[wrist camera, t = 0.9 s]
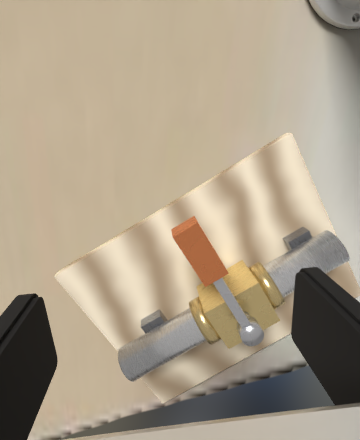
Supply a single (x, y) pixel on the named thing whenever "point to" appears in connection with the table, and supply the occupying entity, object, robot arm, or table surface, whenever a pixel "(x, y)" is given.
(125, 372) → the pipe and valve
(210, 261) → the valve handle
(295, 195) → the valve board
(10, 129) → the table surface
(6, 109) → the table surface
